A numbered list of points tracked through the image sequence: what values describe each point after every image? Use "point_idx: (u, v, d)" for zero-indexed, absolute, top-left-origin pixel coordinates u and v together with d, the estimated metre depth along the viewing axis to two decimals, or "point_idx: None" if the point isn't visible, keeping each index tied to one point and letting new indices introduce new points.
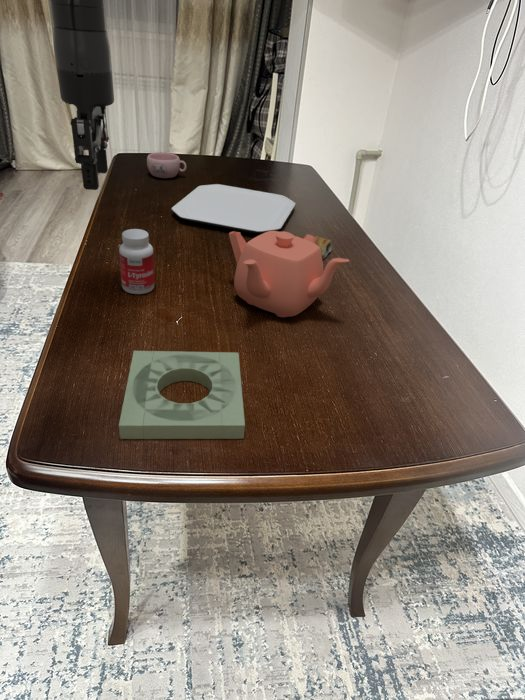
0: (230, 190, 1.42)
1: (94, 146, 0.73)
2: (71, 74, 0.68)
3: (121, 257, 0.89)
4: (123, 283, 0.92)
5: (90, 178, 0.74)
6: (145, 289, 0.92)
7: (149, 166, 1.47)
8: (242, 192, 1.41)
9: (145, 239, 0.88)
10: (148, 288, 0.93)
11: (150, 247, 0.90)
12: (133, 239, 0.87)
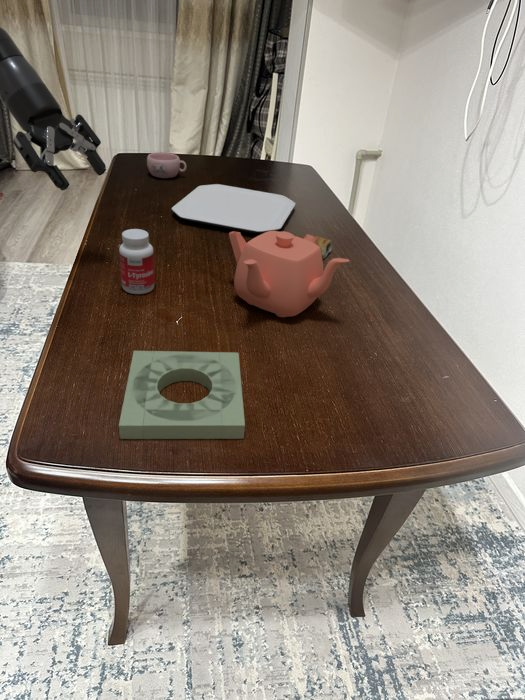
0: (230, 190, 1.42)
1: None
2: None
3: (121, 257, 0.89)
4: (123, 283, 0.92)
5: None
6: (145, 289, 0.92)
7: (149, 166, 1.47)
8: (242, 192, 1.41)
9: (145, 239, 0.88)
10: (148, 288, 0.93)
11: (150, 247, 0.90)
12: (133, 239, 0.87)
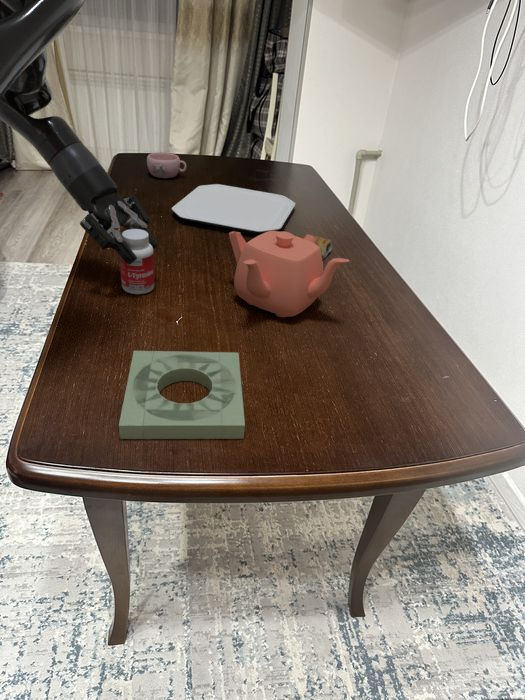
0: (230, 190, 1.42)
1: None
2: None
3: None
4: (123, 283, 0.92)
5: None
6: (145, 289, 0.92)
7: (149, 166, 1.47)
8: (242, 192, 1.41)
9: (145, 239, 0.88)
10: (148, 288, 0.93)
11: (150, 247, 0.90)
12: (133, 239, 0.87)
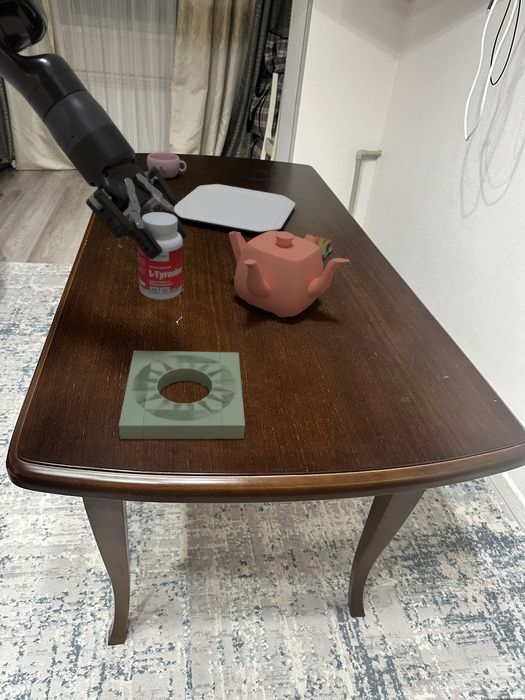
0: (230, 190, 1.42)
1: None
2: None
3: (140, 250, 0.66)
4: (142, 284, 0.69)
5: None
6: (170, 292, 0.69)
7: (149, 166, 1.47)
8: (242, 192, 1.41)
9: (173, 225, 0.65)
10: (175, 291, 0.70)
11: (179, 237, 0.67)
12: (157, 225, 0.64)
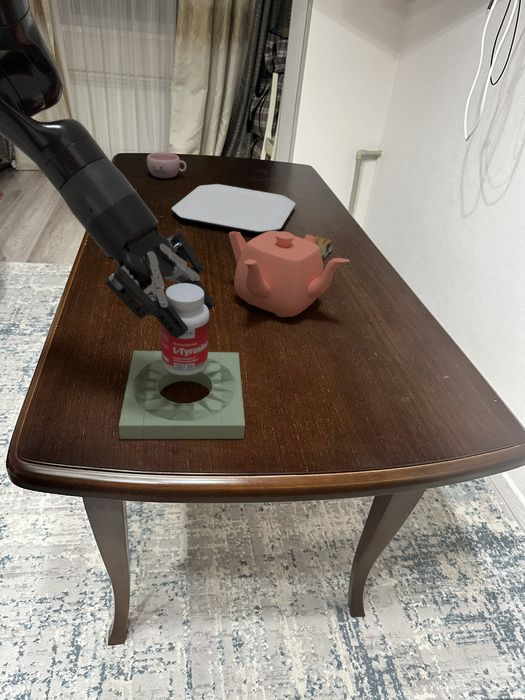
0: (230, 190, 1.42)
1: None
2: None
3: None
4: (165, 359, 0.64)
5: None
6: (196, 368, 0.64)
7: (149, 166, 1.47)
8: (242, 192, 1.41)
9: (200, 301, 0.60)
10: (200, 366, 0.64)
11: (206, 310, 0.62)
12: (183, 302, 0.58)
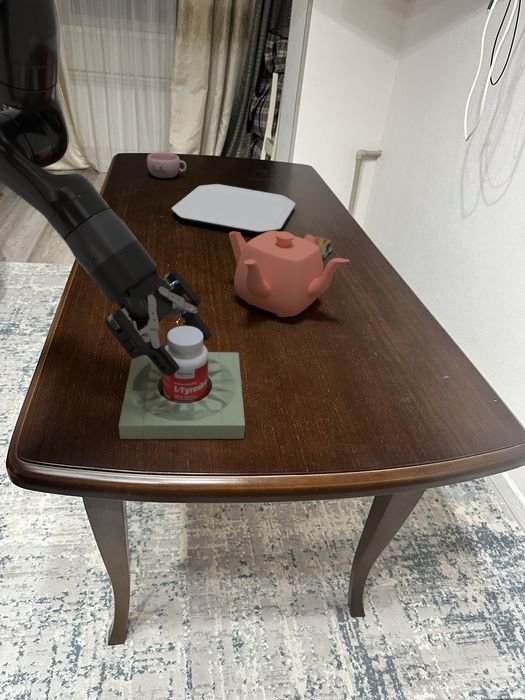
0: (230, 190, 1.42)
1: None
2: None
3: None
4: (166, 397, 0.68)
5: None
6: None
7: (149, 166, 1.47)
8: (242, 192, 1.41)
9: (199, 344, 0.63)
10: None
11: (205, 351, 0.66)
12: (183, 346, 0.62)
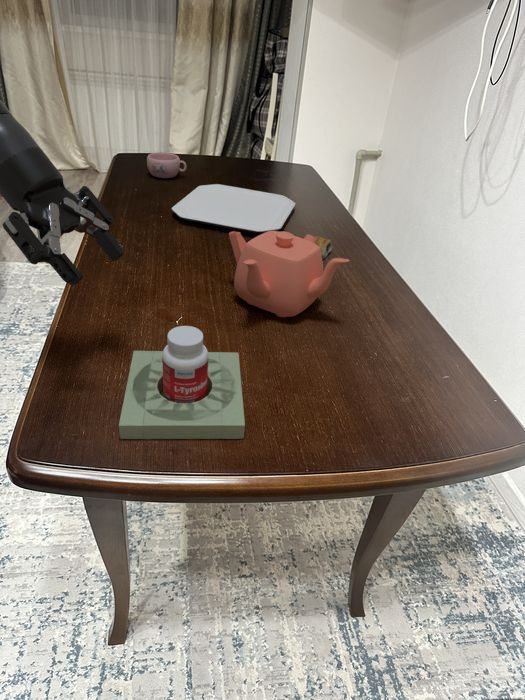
0: (230, 190, 1.42)
1: None
2: None
3: (166, 367, 0.65)
4: (166, 397, 0.68)
5: None
6: None
7: (149, 166, 1.47)
8: (242, 192, 1.41)
9: (199, 344, 0.63)
10: None
11: (205, 351, 0.66)
12: (183, 345, 0.62)
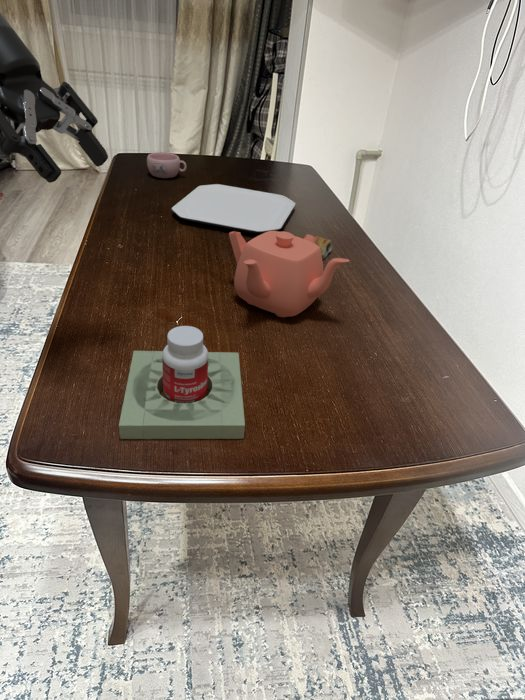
0: (230, 190, 1.42)
1: None
2: None
3: (166, 367, 0.65)
4: (166, 397, 0.68)
5: None
6: None
7: (149, 166, 1.47)
8: (242, 192, 1.41)
9: (199, 344, 0.63)
10: None
11: (205, 351, 0.66)
12: (183, 345, 0.62)
